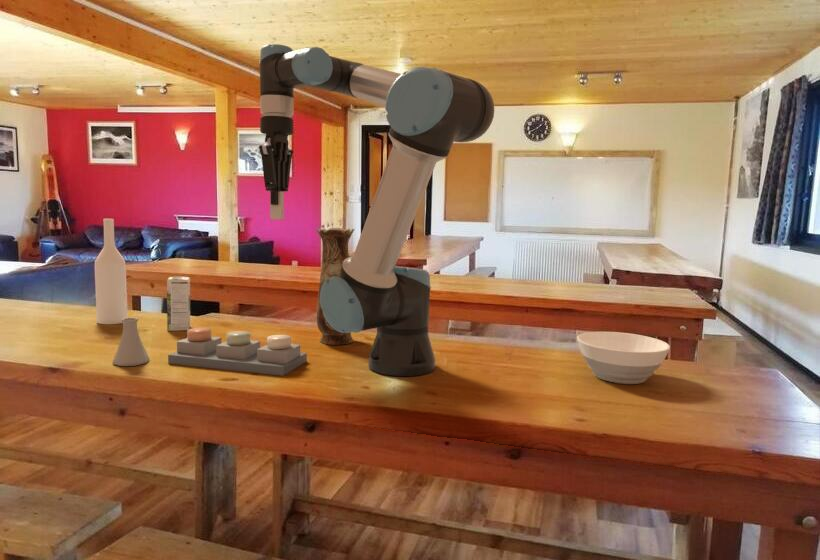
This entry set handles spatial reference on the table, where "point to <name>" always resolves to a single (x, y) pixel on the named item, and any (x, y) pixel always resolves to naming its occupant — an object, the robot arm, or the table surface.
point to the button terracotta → (199, 334)
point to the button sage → (238, 338)
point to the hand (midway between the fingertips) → (276, 219)
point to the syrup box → (178, 303)
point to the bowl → (622, 355)
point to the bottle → (110, 280)
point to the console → (237, 356)
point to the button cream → (279, 341)
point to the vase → (331, 265)
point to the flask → (130, 346)
